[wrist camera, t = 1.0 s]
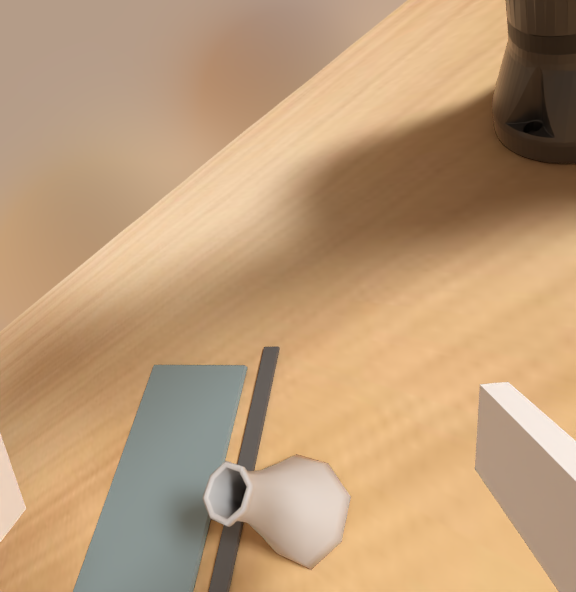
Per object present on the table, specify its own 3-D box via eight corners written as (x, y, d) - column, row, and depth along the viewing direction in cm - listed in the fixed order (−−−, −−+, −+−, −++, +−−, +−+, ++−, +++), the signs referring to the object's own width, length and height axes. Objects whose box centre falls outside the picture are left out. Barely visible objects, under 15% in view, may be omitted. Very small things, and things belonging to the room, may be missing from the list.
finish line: (265, 348, 39) (264, 346, 39) (279, 347, 38) (278, 346, 38) (167, 784, 25) (164, 785, 25) (185, 798, 24) (182, 800, 24)
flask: (316, 592, 26) (228, 606, 19) (248, 520, 31) (156, 510, 24) (368, 493, 28) (305, 471, 20) (296, 439, 33) (223, 405, 25)
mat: (157, 366, 45) (154, 364, 45) (247, 367, 39) (244, 365, 38) (55, 656, 33) (49, 657, 33) (159, 728, 27) (154, 730, 27)
